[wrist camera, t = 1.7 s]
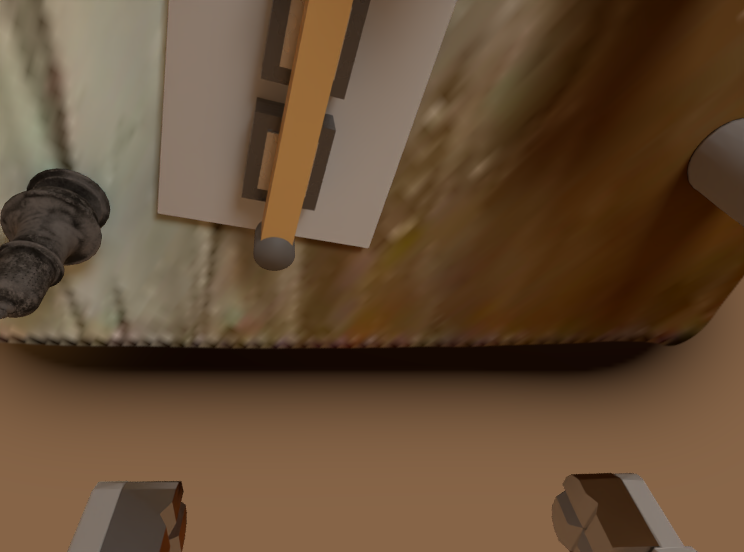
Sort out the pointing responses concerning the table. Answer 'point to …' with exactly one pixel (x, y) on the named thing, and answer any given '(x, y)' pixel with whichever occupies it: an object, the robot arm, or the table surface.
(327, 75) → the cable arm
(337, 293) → the table surface
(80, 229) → the dark grey tall piece
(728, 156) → the bottle
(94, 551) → the robot arm
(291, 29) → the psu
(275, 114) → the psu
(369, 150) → the board
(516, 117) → the table surface
